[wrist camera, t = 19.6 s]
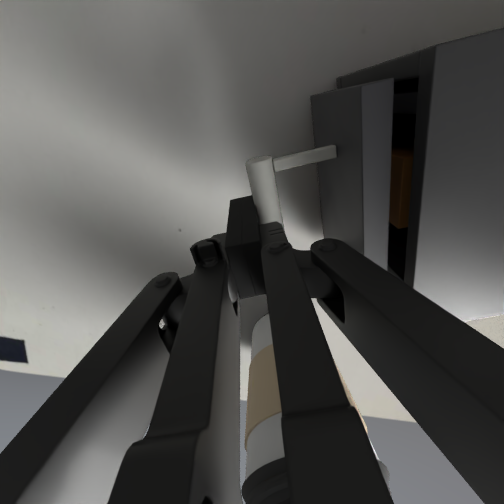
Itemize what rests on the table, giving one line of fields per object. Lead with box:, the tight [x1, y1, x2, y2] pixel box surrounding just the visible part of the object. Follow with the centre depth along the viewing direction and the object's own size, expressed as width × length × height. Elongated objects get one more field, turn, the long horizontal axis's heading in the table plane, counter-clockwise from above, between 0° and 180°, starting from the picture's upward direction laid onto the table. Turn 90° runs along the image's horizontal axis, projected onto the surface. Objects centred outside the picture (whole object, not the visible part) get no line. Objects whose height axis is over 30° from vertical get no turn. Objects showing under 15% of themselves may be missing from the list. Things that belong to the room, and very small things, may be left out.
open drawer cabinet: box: [245, 78, 419, 282], centre depth 15 cm, size 18×11×8 cm, turn 102°
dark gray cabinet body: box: [337, 28, 504, 322], centre depth 15 cm, size 15×13×10 cm
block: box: [389, 138, 415, 229], centre depth 16 cm, size 4×4×4 cm
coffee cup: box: [242, 314, 391, 504], centre depth 20 cm, size 9×9×15 cm
